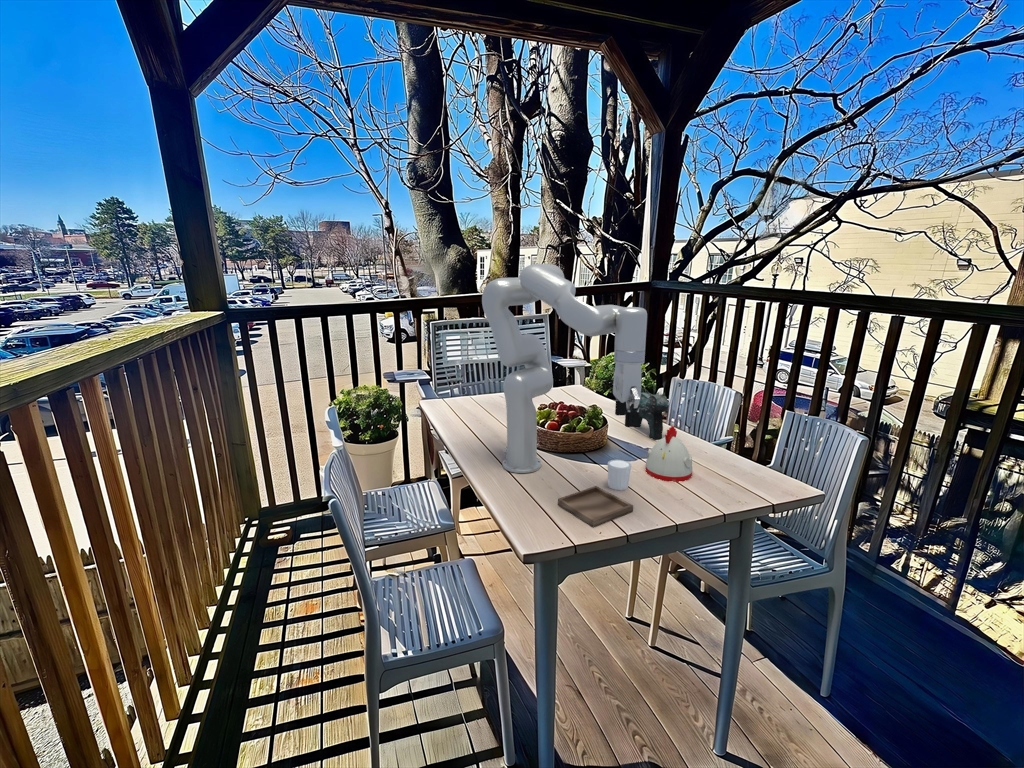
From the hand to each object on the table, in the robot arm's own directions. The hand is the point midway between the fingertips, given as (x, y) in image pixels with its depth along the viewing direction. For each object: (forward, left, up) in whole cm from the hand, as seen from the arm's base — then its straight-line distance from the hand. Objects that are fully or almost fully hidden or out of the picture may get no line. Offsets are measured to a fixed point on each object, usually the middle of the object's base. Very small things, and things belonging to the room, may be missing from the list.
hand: (626, 420), depth 125 cm
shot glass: (-7, +6, -24) cm, 25 cm away
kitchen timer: (-5, +26, -24) cm, 36 cm away
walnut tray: (-1, -9, -23) cm, 25 cm away
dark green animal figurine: (-34, +49, -24) cm, 64 cm away
